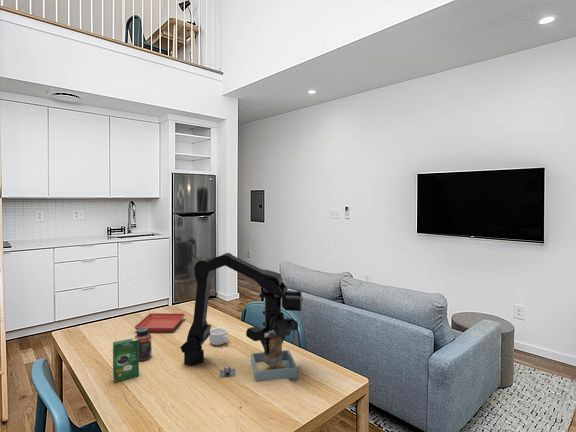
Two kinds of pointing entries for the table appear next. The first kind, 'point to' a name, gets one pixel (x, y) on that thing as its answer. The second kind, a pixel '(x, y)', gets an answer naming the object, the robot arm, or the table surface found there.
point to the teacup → (218, 336)
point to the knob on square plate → (227, 372)
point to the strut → (274, 351)
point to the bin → (287, 372)
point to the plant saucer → (160, 322)
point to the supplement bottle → (144, 344)
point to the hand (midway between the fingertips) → (272, 352)
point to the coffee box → (125, 359)
